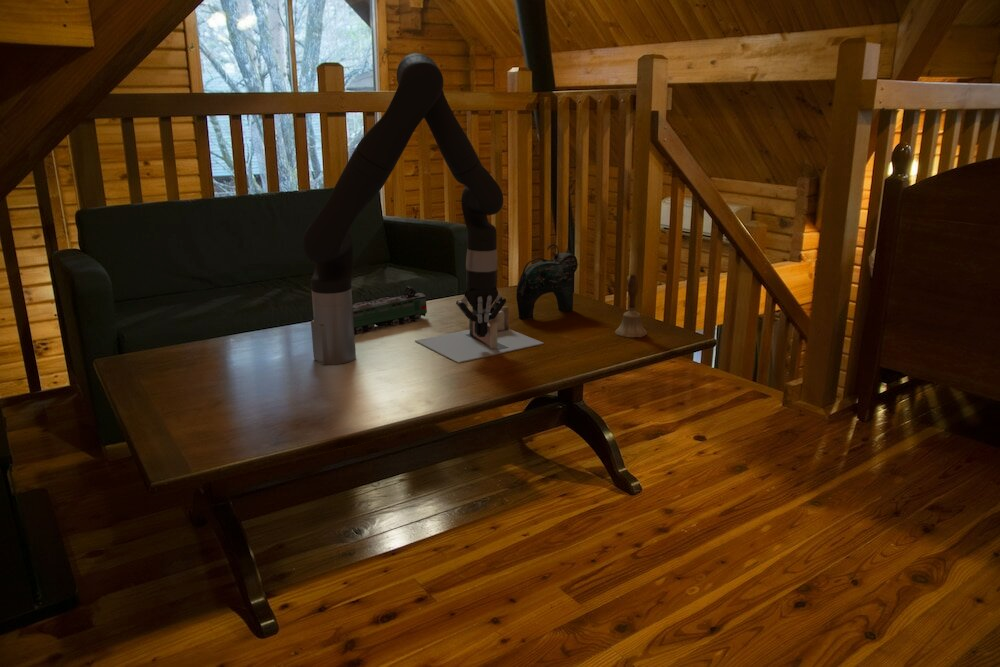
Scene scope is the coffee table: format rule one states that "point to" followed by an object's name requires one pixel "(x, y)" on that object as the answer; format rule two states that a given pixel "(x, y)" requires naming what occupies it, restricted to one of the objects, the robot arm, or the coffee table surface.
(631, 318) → the hand bell
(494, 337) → the panel
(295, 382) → the coffee table surface
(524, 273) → the black animal figurine
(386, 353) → the coffee table surface
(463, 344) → the card
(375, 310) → the toy train
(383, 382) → the coffee table surface
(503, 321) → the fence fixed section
